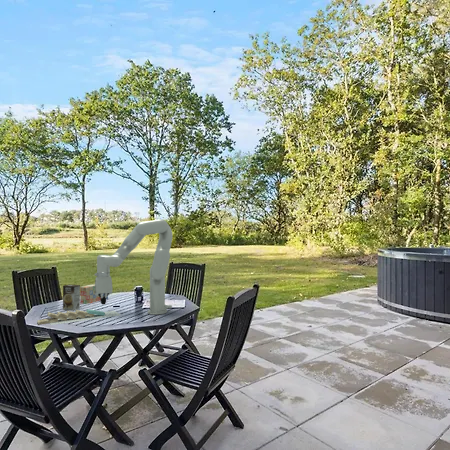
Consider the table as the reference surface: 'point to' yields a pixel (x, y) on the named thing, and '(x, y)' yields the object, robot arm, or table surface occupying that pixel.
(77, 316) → the tile
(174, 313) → the table surface
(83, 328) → the table surface
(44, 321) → the tile
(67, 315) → the tile
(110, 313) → the mat
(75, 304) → the coffee box
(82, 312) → the tile
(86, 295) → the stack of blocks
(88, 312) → the tile
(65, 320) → the tile
